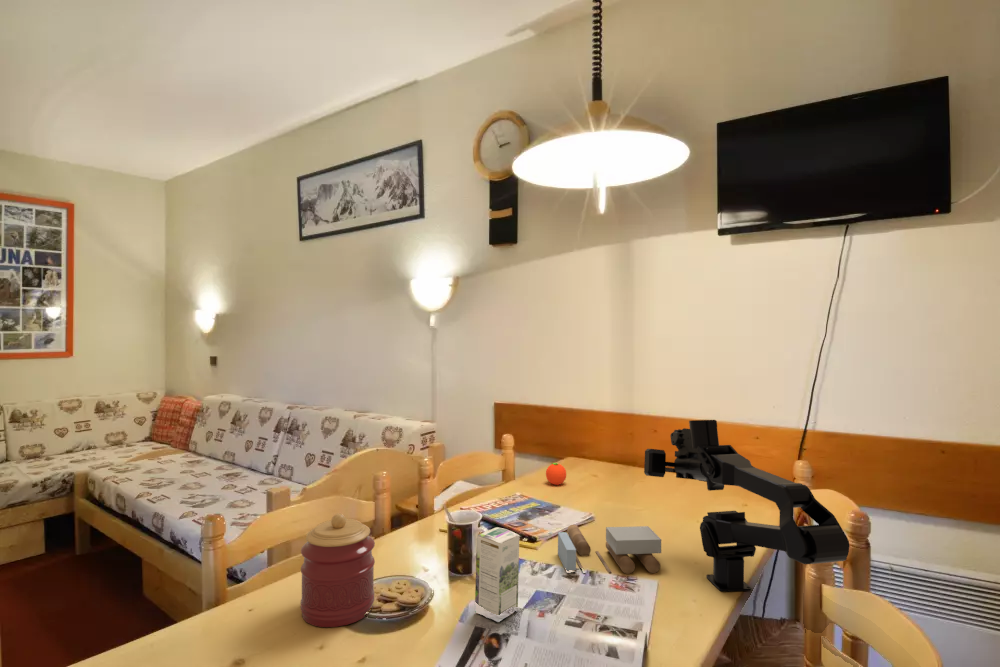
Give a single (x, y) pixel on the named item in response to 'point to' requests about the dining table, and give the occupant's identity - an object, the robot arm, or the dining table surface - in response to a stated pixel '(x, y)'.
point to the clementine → (556, 474)
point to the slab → (633, 540)
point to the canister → (337, 573)
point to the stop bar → (566, 551)
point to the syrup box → (497, 570)
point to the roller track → (629, 561)
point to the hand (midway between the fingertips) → (665, 464)
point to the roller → (578, 540)
